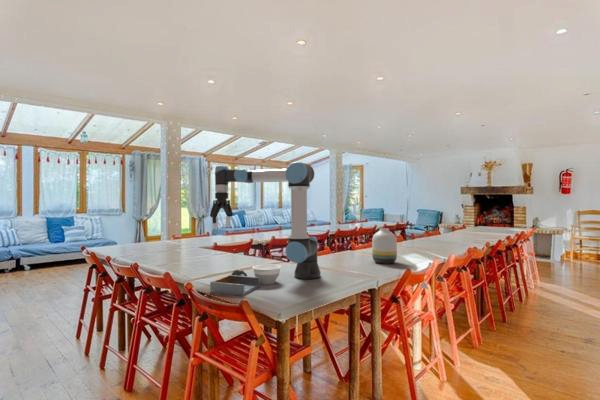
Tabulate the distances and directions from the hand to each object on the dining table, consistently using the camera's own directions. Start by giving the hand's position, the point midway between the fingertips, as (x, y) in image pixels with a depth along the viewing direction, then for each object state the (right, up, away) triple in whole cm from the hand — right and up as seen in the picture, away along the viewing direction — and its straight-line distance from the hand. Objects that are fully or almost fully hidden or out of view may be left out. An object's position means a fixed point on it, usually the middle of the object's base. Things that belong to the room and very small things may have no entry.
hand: (221, 227), depth 206 cm
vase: (+106, -28, +39) cm, 116 cm away
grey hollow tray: (+14, -28, -34) cm, 46 cm away
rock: (+13, -28, -15) cm, 34 cm away
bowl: (+29, -28, -19) cm, 44 cm away
